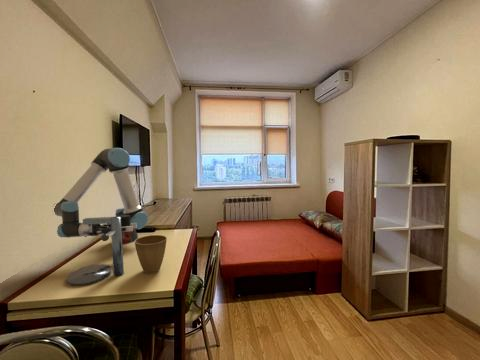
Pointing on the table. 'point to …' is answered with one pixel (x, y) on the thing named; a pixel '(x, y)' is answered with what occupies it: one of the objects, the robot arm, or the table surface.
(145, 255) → the plant pot
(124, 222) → the deodorant
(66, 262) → the table surface
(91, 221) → the press
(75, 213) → the robot arm
